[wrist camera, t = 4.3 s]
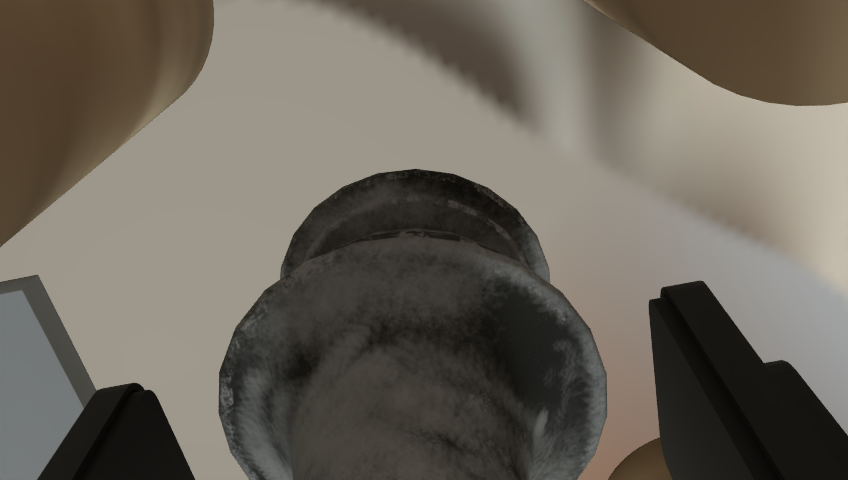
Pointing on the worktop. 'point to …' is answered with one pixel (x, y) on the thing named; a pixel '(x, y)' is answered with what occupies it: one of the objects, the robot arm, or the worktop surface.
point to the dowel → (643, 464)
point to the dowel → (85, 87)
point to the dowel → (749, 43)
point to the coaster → (35, 380)
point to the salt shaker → (413, 346)
